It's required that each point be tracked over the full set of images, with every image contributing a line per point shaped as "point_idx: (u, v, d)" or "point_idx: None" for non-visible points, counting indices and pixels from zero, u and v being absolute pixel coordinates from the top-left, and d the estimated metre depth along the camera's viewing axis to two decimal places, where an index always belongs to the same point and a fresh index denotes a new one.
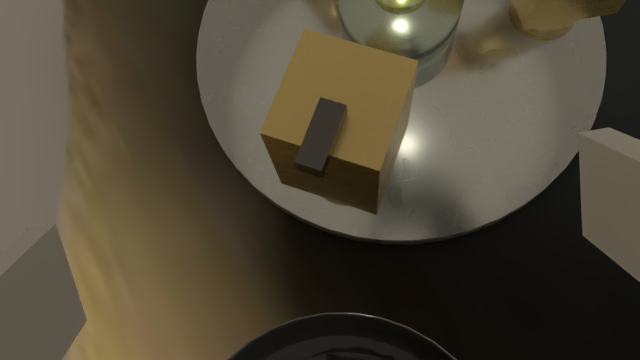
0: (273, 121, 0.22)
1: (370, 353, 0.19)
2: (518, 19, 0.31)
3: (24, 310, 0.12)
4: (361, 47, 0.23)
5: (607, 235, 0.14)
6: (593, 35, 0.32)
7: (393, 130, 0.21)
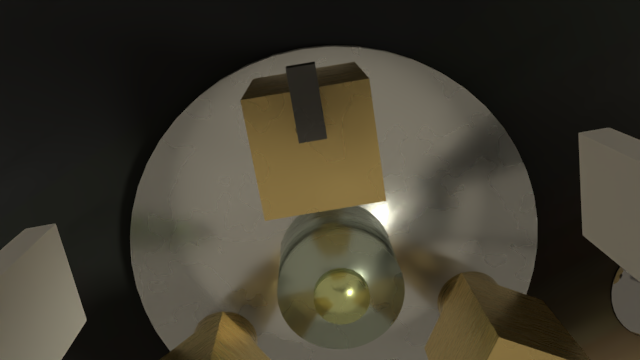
0: None
1: None
2: None
3: (24, 310, 0.12)
4: None
5: (607, 236, 0.14)
6: (341, 58, 0.29)
7: (563, 358, 0.25)
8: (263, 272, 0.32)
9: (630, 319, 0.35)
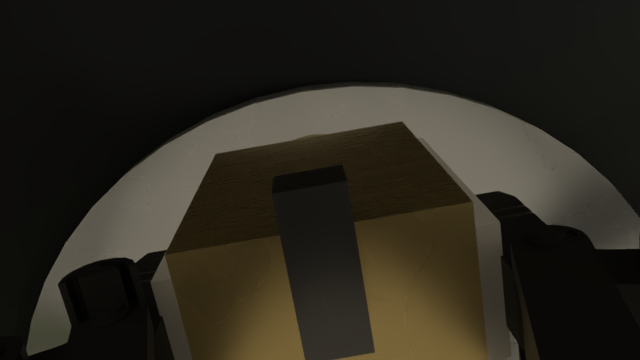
0: None
1: None
2: None
3: None
4: None
5: None
6: (371, 106, 0.17)
7: None
8: None
9: None
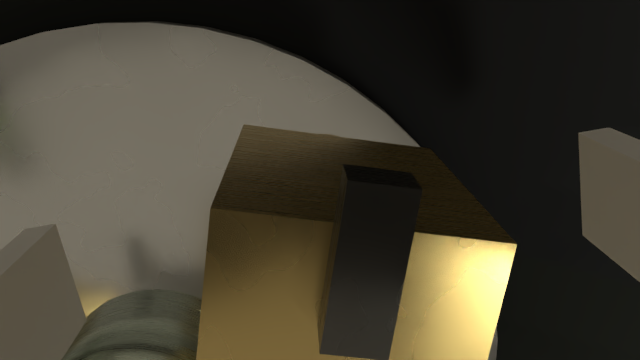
0: None
1: None
2: None
3: (24, 310, 0.12)
4: None
5: (607, 236, 0.14)
6: None
7: None
8: None
9: None
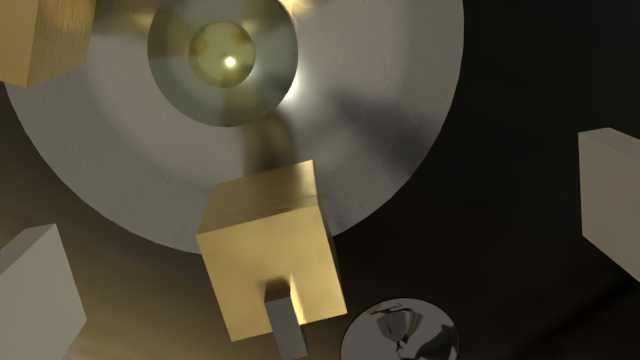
0: (235, 326, 0.23)
1: None
2: None
3: (24, 310, 0.12)
4: (259, 221, 0.22)
5: (607, 236, 0.14)
6: None
7: (336, 275, 0.22)
8: None
9: (351, 344, 0.35)
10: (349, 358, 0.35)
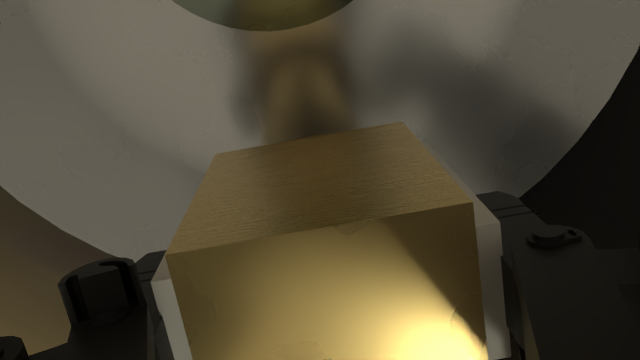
0: None
1: None
2: None
3: None
4: (325, 233, 0.09)
5: None
6: None
7: None
8: None
9: None
10: None
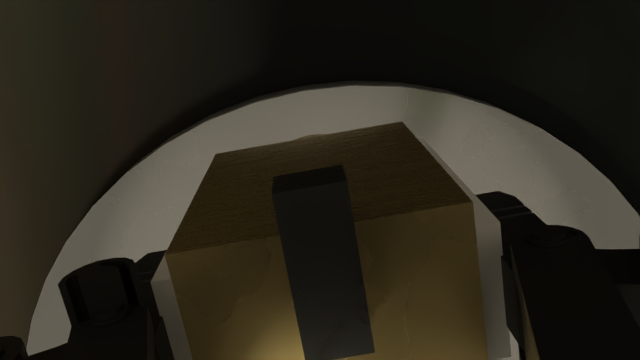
0: None
1: None
2: None
3: None
4: None
5: None
6: None
7: None
8: None
9: None
10: None
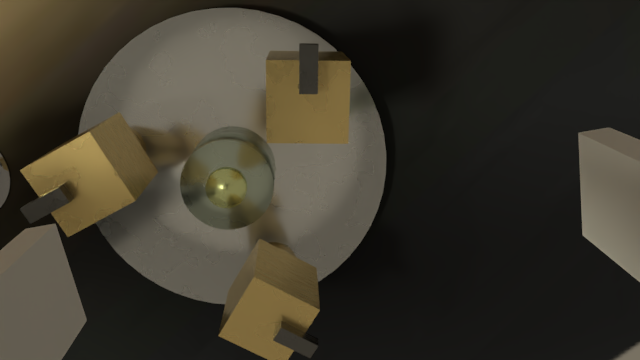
0: (31, 170, 0.33)
1: None
2: None
3: (24, 310, 0.12)
4: (112, 169, 0.34)
5: (607, 235, 0.14)
6: None
7: (91, 223, 0.34)
8: (284, 143, 0.42)
9: None
10: None
